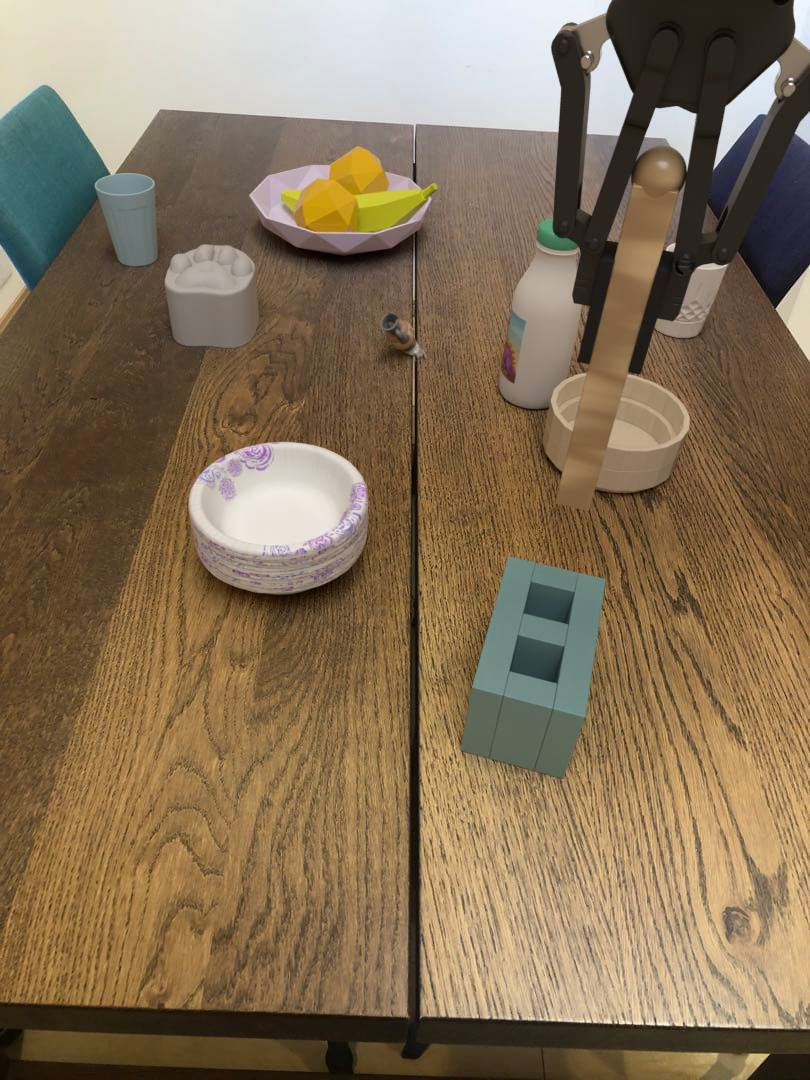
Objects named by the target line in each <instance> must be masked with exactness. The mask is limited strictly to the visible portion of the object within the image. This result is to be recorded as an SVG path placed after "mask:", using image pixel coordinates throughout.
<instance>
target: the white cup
mask: <svg viewBox="0 0 810 1080" xmlns="http://www.w3.org/2000/svg"><path fill="white" fill-rule="evenodd" d="M674 248H675V242H673V243H671V244H670V245H668V246H667V247H666V249H665V251H671V252H673V251H674ZM728 267H729V264H727V265H723V266H721V265H717V264H715V263H711V264H705V265H701V266H699V267H698V268H696V269H695V271H694V272H693V273H692V275H691V278H690V282H689V285H688V288H687V291H686V294H685V297H684V301H683V304H682V307H681V310H680V313H679V315H678V316H677V317H676V319H675V320H674V321H668V320H663V319H657V321H656V324H655V328H654V330H655V331H657V332H659V333H660V334H662V335H665V336H667V337H670V338H671V337H672V338H676V339H690V338H693V337H697V336H698V335H699V334H700V333H701V332H702V330H703V328H704V325H705V322H706V320H707V317H708V315H709V313H710V311H711V310H712V307H713V304H714V302H715V300H716V297H717V295H718V292H719V289H720V287H721V284H722V282H723V280H724V278H725V274H726V272H727V269H728Z"/></svg>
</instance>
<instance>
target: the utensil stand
mask: <svg viewBox="0 0 810 1080" xmlns="http://www.w3.org/2000/svg"><path fill="white" fill-rule="evenodd" d="M606 582H607V579H606V578H602V577H599V576H594V575H589V574H586V573H582V572H577V571H573V570H569V569H564V568H561V567H556V566H552V565H547V564H544V563H541V562H540V563H539V562H535V561H530V560H527V559H522V558H518V557H514V556H509V555H508V556H507V560H506V563H505V567H504V571H503V573H502V577H501V581H500V585H499V588H498V592H497V595H496V598H495V603H494V606H493V610H492V613H491V616H490V619H489V624H488V628H487V631H486V635H485V639H484V642H483V646H482V649H481V653H480V656H479V660H478V663H477V668H476V670H475V675H474V678H473V682H472V685H471V689H470V695H469V702H468V706H467V712H466V716H465V722H464V727H463V732H462V733H463V734H462V739H461V744H460V748H459V750H460V751H461V752H464V753H467V754H468V753H469V754H470V755H471V754H472V755H475V756H478V757H482V758H486V759H489V760H493V761H497V762H500V763H503V764H507V765H512V766H515V767H518V768H521V769H525V770H529V771H532V772H533V771H534V772H536V773H540V774H543V775H547V776H550V777H554V778H558V779H562V780H563V779H564V778H565V775H566V773H567V770H568V768H569V765H570V761H571V759H572V756H573V754H574V751H575V748H576V745H577V743H578V739H579V736H580V734H581V732H582V728H583V726H584V723H585V720H586V718H587V710H588V706H589V705H588V704H589V697H590V691H591V684H592V678H593V677H592V676H593V671H594V664H595V657H596V650H597V643H598V638H599V637H598V636H599V629H600V623H601V616H602V609H603V603H604V596H605V589H606Z"/></svg>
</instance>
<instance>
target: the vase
mask: <svg viewBox="0 0 810 1080" xmlns="http://www.w3.org/2000/svg"><path fill="white" fill-rule="evenodd" d="M374 315H375V314H374ZM379 327H380V328H381V330H382V331H384V332H385V339H386V341H387V343H388V344H389V345H390V346H391V347H393V349H396V350H400V351H402V352H403V353H404V354H407V355H410V356H413V359H414V361H413V362H412V363H413V364H414V363H415V361H416V359H418V360H417V362H420V360H419V359H420V358H423V356H424V358H425V359H427V358H428V355H427V354H426V352H425V351H424V349H423V348H420V345H419V343H418V341H417V339H416V337H415V330H414V328H413V326H412V325H411V324H410V323H409V322H408V321H406V320H404V319H399V317H398V316H397V315H395V314H394V313H391V312H387V313H385V314H384V315H383V316H382V317H381V319H380V321H379Z"/></svg>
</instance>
